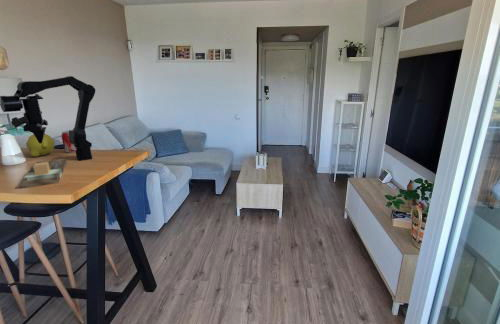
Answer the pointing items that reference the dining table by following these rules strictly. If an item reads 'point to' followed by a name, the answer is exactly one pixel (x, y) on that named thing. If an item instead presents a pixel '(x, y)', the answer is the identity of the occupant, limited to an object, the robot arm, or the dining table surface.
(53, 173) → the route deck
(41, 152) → the sculpture
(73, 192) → the dining table surface
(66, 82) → the robot arm
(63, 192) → the dining table surface
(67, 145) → the soda can
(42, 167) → the block
